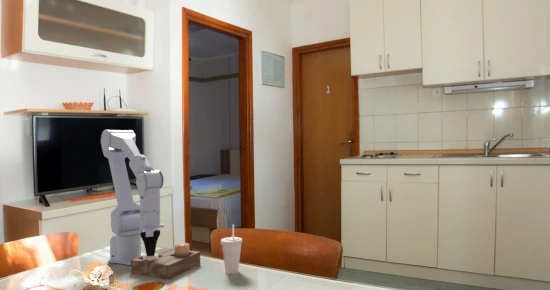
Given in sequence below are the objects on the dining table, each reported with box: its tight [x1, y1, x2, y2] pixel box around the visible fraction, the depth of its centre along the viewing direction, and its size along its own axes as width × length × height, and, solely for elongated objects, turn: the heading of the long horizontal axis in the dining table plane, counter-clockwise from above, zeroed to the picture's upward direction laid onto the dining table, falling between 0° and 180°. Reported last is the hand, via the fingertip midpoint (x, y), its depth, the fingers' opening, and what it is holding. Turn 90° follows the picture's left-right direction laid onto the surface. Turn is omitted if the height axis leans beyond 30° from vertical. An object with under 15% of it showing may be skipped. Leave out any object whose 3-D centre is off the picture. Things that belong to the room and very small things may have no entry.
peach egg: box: [174, 242, 190, 258], centre depth 120 cm, size 4×4×3 cm
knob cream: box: [142, 253, 158, 261], centre depth 117 cm, size 4×4×3 cm
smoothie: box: [220, 224, 243, 275], centre depth 115 cm, size 6×6×14 cm
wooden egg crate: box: [130, 247, 201, 281], centre depth 118 cm, size 14×15×4 cm
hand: (150, 255), depth 117 cm, fingers closed, pressing on knob cream
